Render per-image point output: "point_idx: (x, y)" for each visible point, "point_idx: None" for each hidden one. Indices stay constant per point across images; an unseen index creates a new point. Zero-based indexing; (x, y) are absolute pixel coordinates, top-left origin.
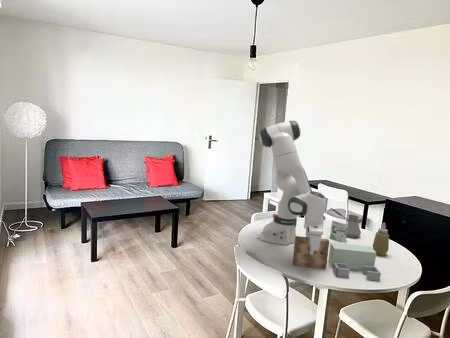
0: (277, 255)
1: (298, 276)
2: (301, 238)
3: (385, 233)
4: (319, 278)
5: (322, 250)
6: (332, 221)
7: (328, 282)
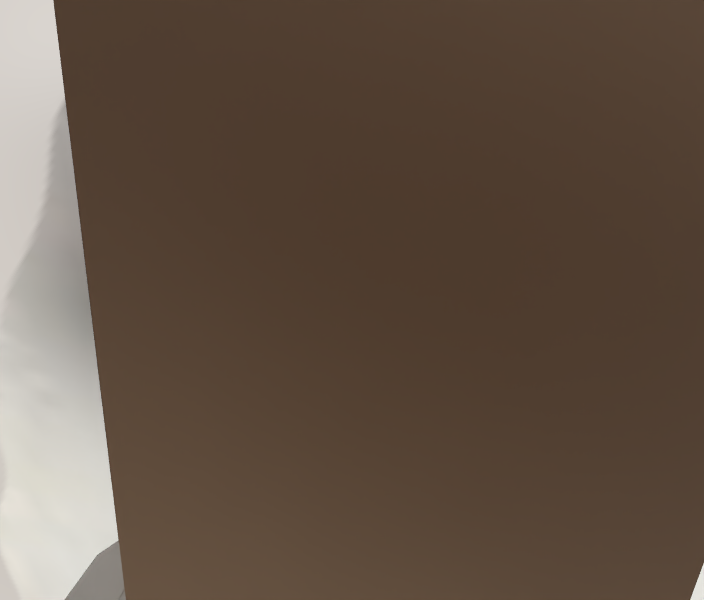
0: None
1: (49, 210)
2: (174, 550)
3: None
4: (84, 410)
5: None
6: None
7: (33, 469)
